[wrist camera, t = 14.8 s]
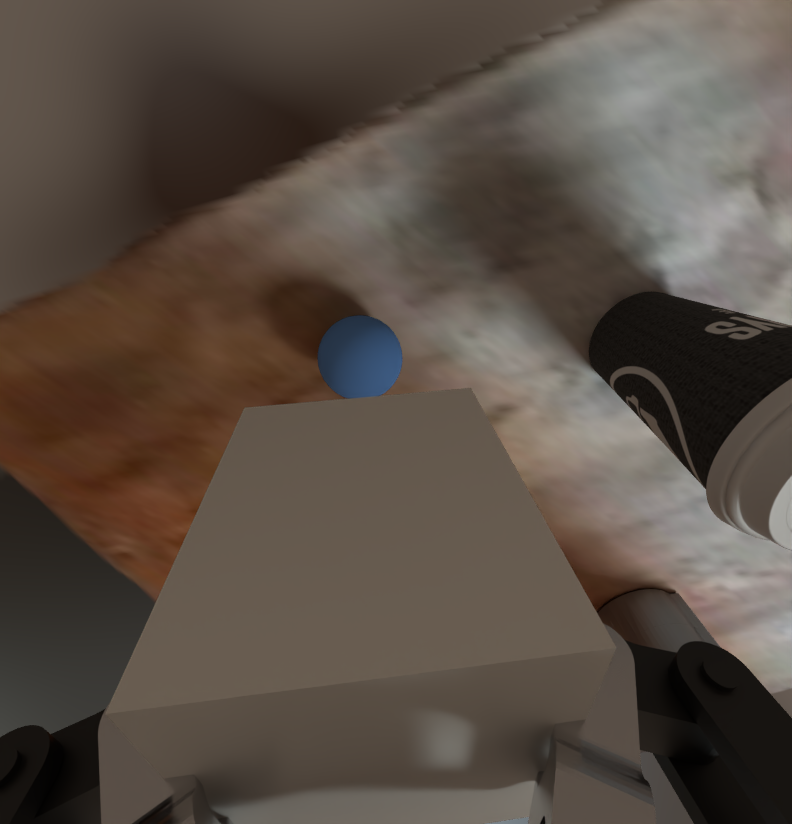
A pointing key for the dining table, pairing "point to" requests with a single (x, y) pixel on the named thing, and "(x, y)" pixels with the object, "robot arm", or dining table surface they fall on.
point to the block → (364, 623)
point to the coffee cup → (710, 399)
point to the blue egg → (359, 357)
